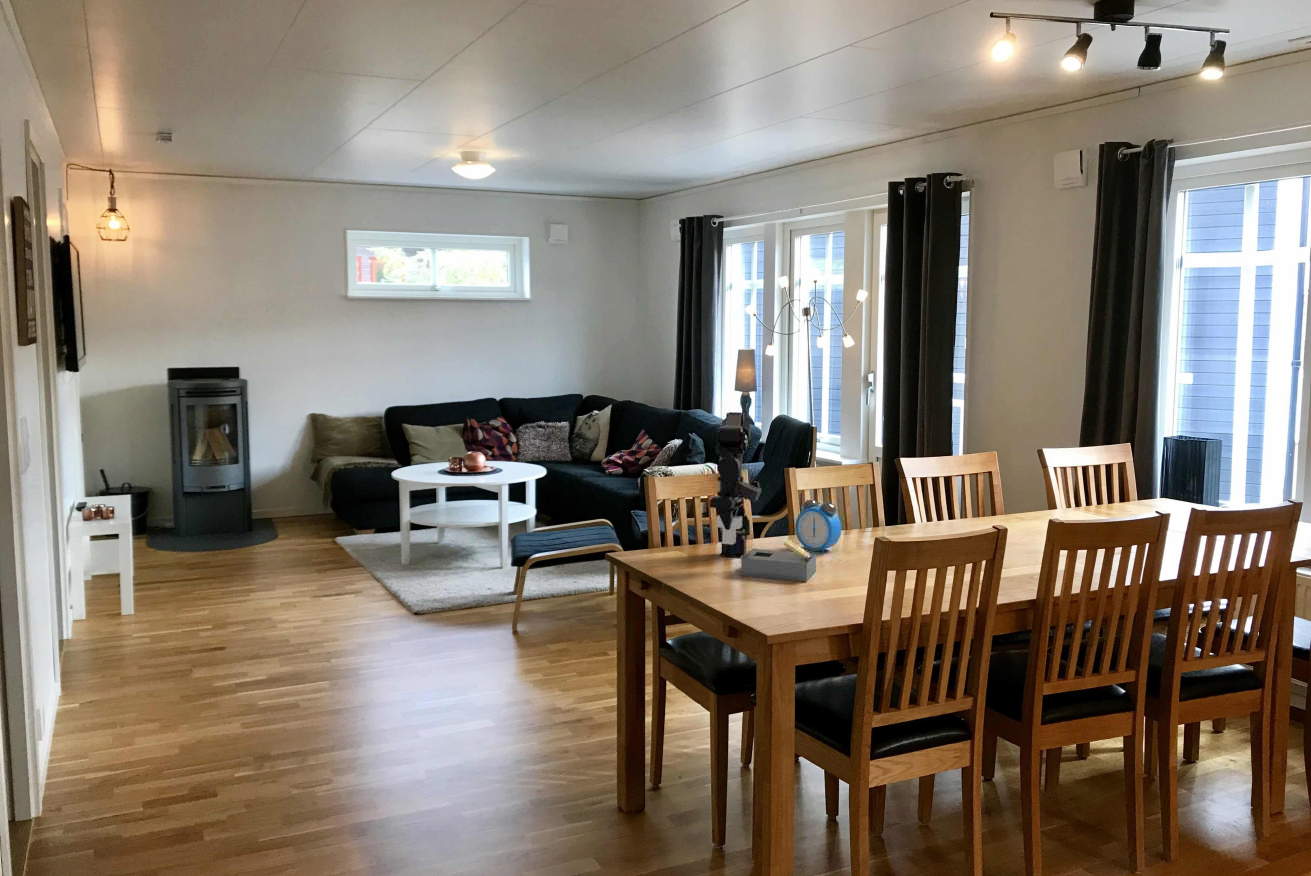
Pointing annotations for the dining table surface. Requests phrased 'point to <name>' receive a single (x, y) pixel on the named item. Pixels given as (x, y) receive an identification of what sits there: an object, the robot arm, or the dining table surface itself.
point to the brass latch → (797, 549)
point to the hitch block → (777, 565)
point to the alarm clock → (818, 526)
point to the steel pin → (730, 535)
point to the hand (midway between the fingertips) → (729, 528)
